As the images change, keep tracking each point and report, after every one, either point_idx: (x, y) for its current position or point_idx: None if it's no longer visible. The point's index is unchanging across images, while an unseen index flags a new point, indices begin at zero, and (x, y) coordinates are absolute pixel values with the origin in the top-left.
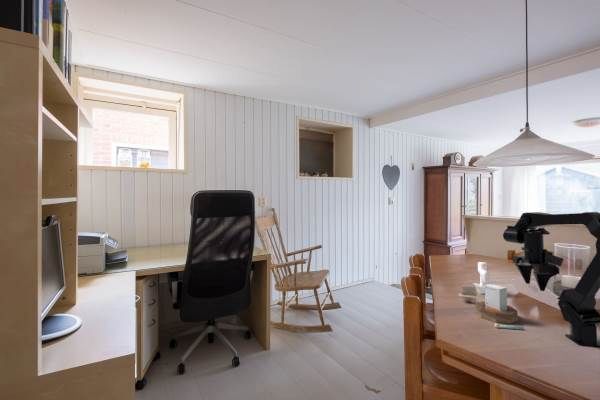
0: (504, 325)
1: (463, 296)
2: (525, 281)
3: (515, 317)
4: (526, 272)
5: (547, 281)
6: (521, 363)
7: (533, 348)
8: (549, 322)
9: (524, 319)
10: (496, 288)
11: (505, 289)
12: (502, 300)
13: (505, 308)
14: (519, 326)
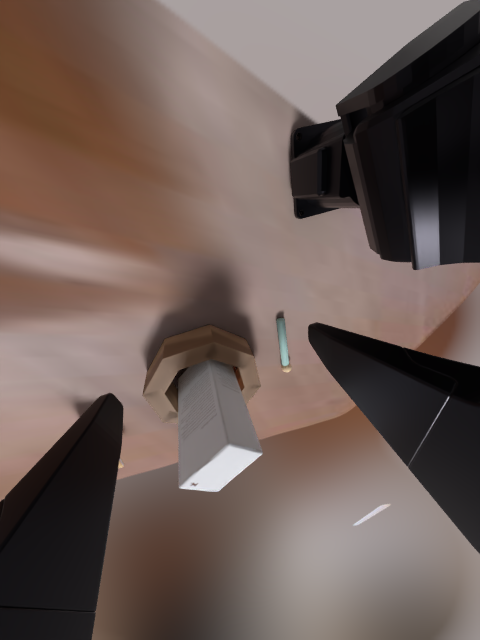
0: (286, 356)
1: (120, 459)
2: (121, 428)
3: (225, 336)
4: (62, 556)
5: (424, 359)
6: (413, 331)
7: (369, 310)
8: (174, 228)
9: (188, 306)
10: (253, 460)
11: (235, 439)
12: (237, 402)
13: (219, 372)
14: (283, 328)
